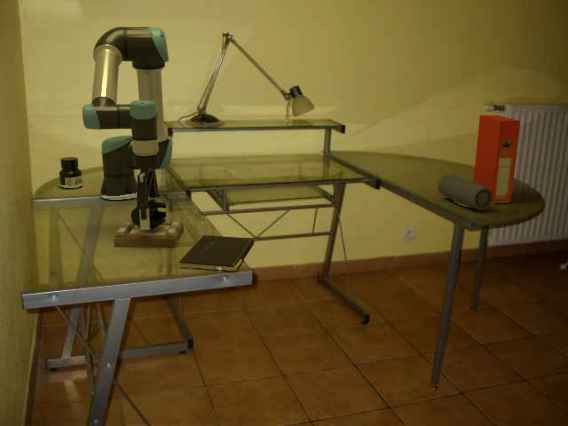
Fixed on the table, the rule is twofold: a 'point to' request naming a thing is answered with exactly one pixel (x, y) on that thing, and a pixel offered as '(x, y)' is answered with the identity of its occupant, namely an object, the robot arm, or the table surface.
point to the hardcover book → (217, 252)
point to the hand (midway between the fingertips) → (149, 223)
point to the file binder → (496, 155)
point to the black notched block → (151, 214)
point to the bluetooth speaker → (465, 192)
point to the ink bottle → (70, 172)
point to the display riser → (149, 235)
